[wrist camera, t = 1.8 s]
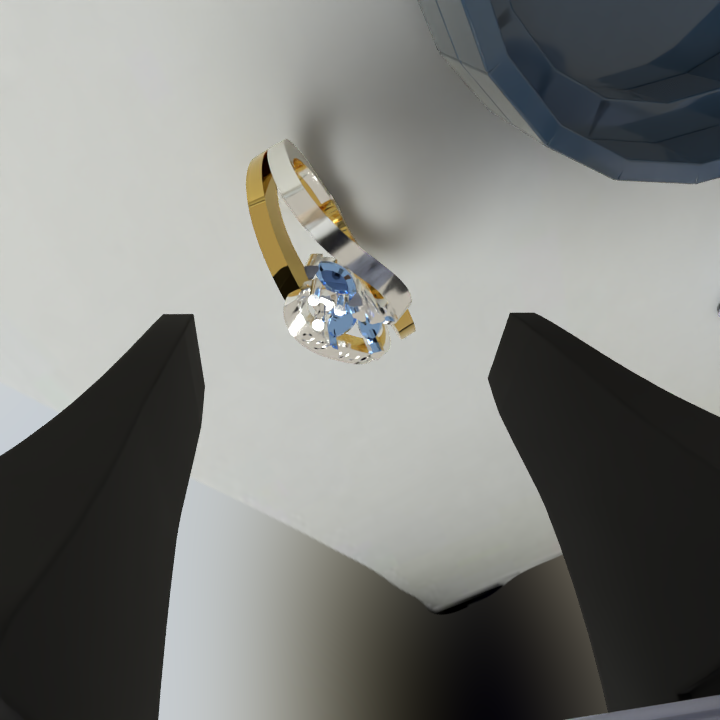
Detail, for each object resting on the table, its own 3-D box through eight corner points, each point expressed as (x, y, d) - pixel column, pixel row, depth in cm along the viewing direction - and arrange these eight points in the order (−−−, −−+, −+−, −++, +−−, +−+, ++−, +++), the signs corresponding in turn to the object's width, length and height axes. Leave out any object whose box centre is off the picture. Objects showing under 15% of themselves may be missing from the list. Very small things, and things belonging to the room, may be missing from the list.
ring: (233, 141, 16) (207, 246, 10) (315, 90, 15) (342, 167, 9) (333, 293, 20) (358, 433, 14) (400, 258, 19) (458, 388, 13)
